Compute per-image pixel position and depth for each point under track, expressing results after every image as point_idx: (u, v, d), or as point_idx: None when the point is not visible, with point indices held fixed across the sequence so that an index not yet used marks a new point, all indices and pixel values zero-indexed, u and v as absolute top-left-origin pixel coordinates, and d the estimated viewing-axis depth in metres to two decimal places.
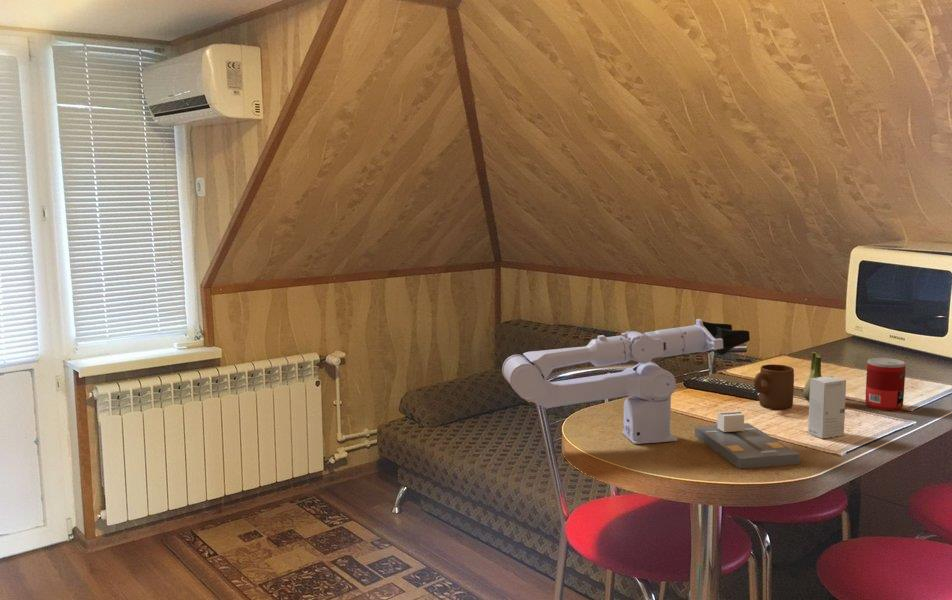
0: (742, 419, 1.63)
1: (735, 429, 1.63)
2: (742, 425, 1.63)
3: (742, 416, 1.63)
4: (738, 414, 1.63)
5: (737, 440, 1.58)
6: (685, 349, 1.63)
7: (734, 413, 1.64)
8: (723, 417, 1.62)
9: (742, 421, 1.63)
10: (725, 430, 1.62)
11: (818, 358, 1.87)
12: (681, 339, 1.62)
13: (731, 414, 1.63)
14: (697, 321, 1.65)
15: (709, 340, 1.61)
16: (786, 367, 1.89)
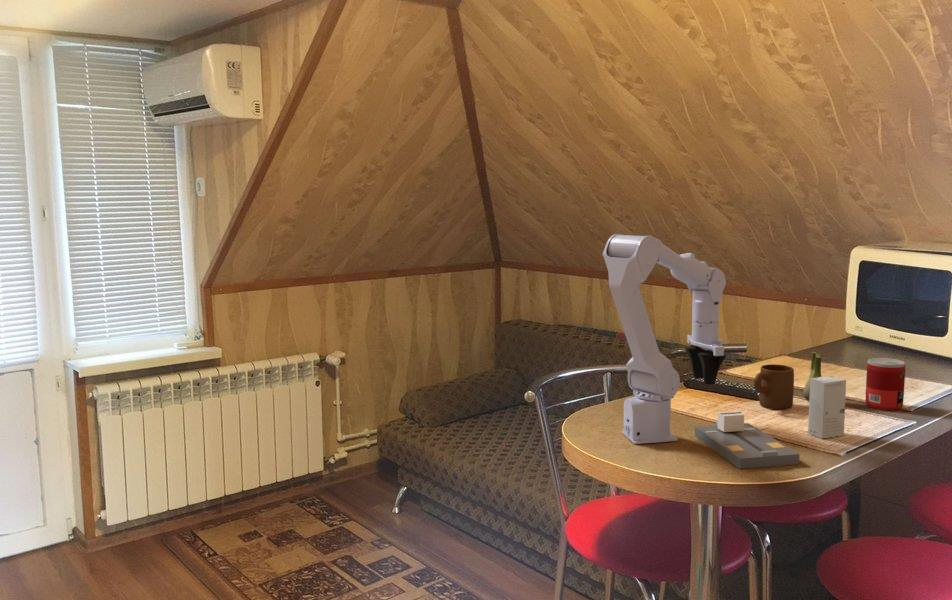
0: (742, 419, 1.63)
1: (735, 429, 1.63)
2: (742, 425, 1.63)
3: (742, 416, 1.63)
4: (738, 414, 1.63)
5: (737, 440, 1.58)
6: (704, 324, 1.71)
7: (734, 413, 1.64)
8: (723, 417, 1.62)
9: (742, 421, 1.63)
10: (725, 430, 1.62)
11: (818, 358, 1.87)
12: (718, 319, 1.72)
13: (731, 414, 1.63)
14: (720, 339, 1.75)
15: None
16: (786, 367, 1.89)
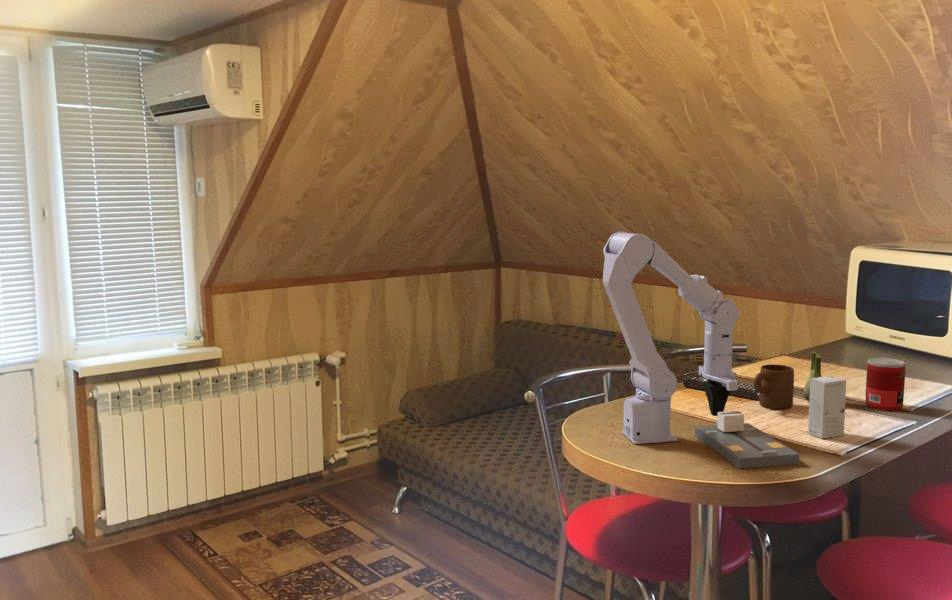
0: (742, 419, 1.63)
1: (735, 429, 1.63)
2: (742, 425, 1.63)
3: (742, 416, 1.63)
4: (738, 414, 1.63)
5: (737, 440, 1.58)
6: (717, 357, 1.66)
7: (734, 413, 1.64)
8: (723, 417, 1.62)
9: (742, 421, 1.63)
10: (725, 430, 1.62)
11: (818, 358, 1.87)
12: (729, 353, 1.66)
13: (731, 414, 1.63)
14: (733, 372, 1.70)
15: (729, 379, 1.65)
16: (786, 367, 1.89)
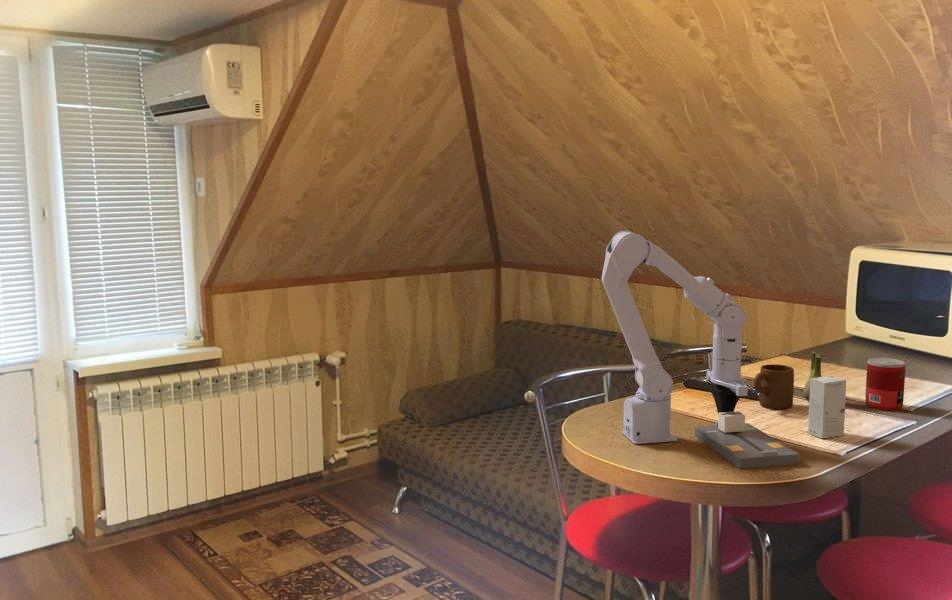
0: (743, 419, 1.62)
1: (736, 430, 1.62)
2: (743, 425, 1.63)
3: (743, 416, 1.62)
4: (739, 414, 1.63)
5: (737, 440, 1.58)
6: (726, 361, 1.62)
7: (735, 414, 1.63)
8: (724, 417, 1.62)
9: (743, 422, 1.62)
10: (726, 431, 1.62)
11: (818, 358, 1.87)
12: (735, 357, 1.62)
13: (732, 414, 1.63)
14: (742, 377, 1.66)
15: (739, 384, 1.61)
16: (786, 367, 1.89)
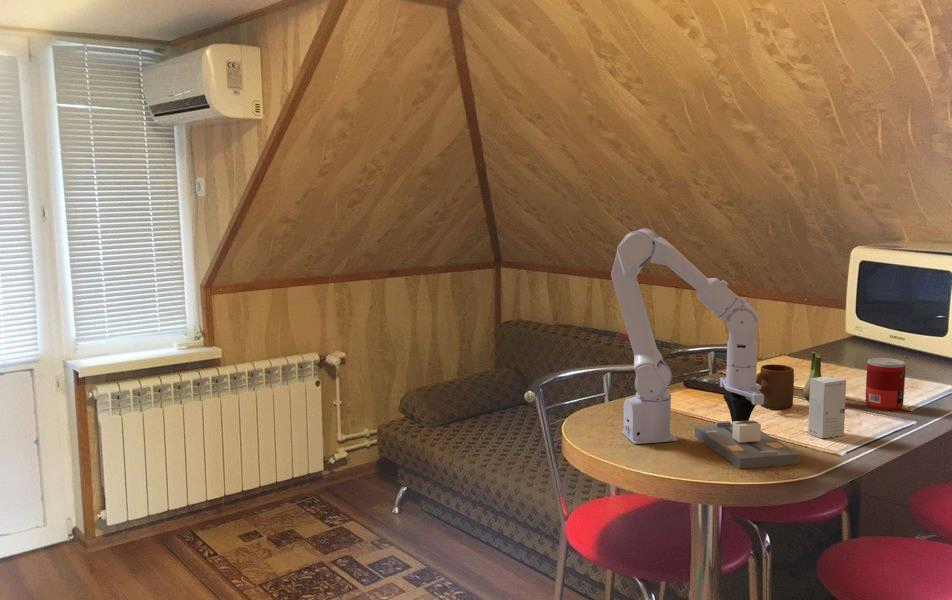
0: (758, 429, 1.56)
1: (751, 439, 1.56)
2: (758, 435, 1.56)
3: (758, 426, 1.56)
4: (754, 424, 1.56)
5: None
6: (741, 368, 1.56)
7: (750, 423, 1.57)
8: (739, 427, 1.56)
9: (758, 431, 1.56)
10: (741, 440, 1.56)
11: (818, 358, 1.87)
12: (745, 365, 1.55)
13: (747, 424, 1.56)
14: (757, 384, 1.60)
15: (754, 392, 1.54)
16: (786, 367, 1.89)
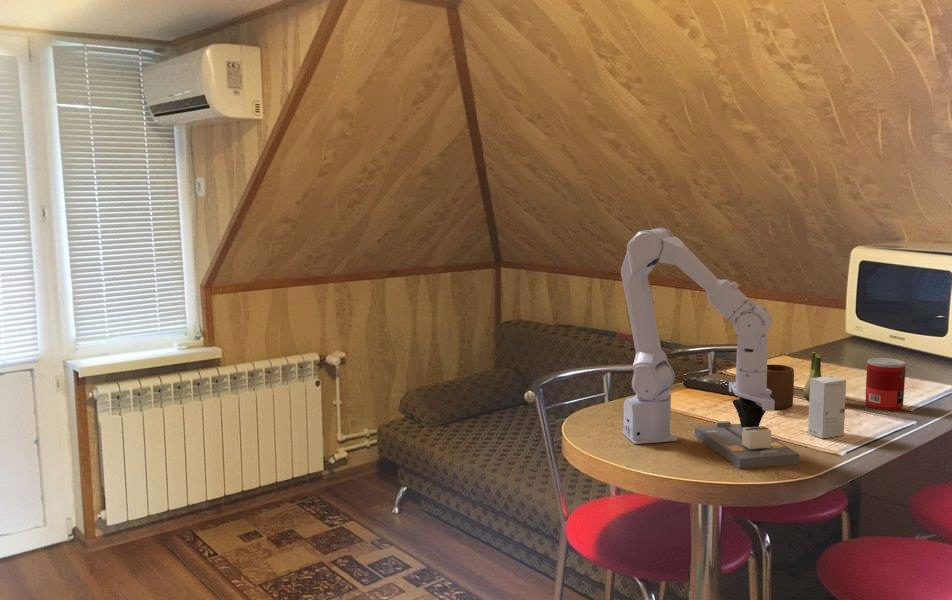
0: (769, 435, 1.52)
1: (761, 446, 1.52)
2: (769, 442, 1.52)
3: (769, 432, 1.52)
4: (765, 430, 1.52)
5: (737, 440, 1.58)
6: (751, 373, 1.52)
7: (760, 429, 1.53)
8: (749, 433, 1.52)
9: (769, 437, 1.52)
10: (751, 447, 1.52)
11: (818, 358, 1.87)
12: (753, 369, 1.51)
13: (757, 430, 1.52)
14: (767, 389, 1.56)
15: (765, 398, 1.50)
16: (786, 367, 1.89)
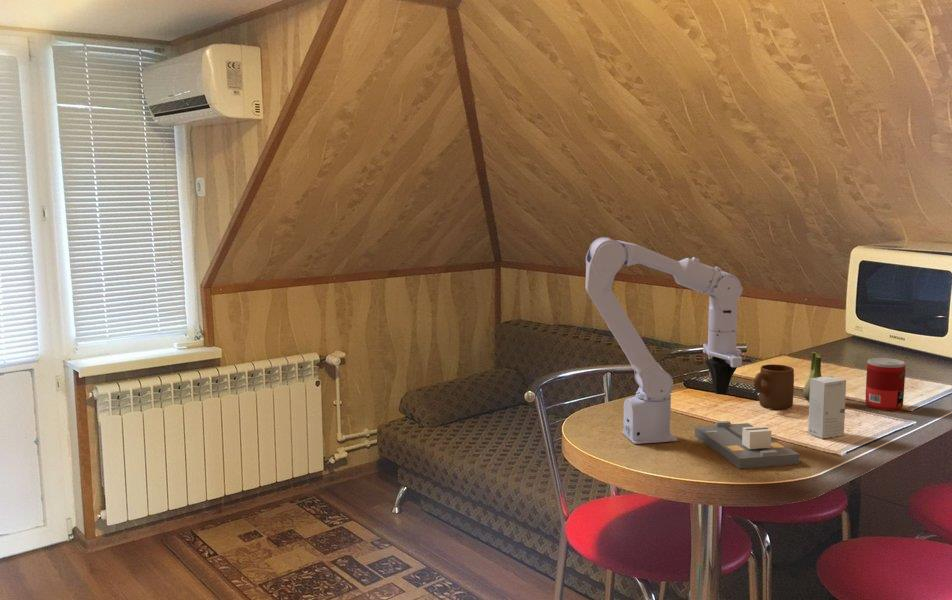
0: (769, 435, 1.52)
1: (761, 446, 1.52)
2: (769, 442, 1.52)
3: (769, 432, 1.52)
4: (765, 430, 1.52)
5: (737, 440, 1.58)
6: (721, 333, 1.61)
7: (760, 429, 1.53)
8: (749, 433, 1.52)
9: (769, 437, 1.52)
10: (751, 447, 1.52)
11: (818, 358, 1.87)
12: (731, 329, 1.61)
13: (757, 430, 1.52)
14: (737, 349, 1.65)
15: (734, 356, 1.60)
16: (786, 367, 1.89)
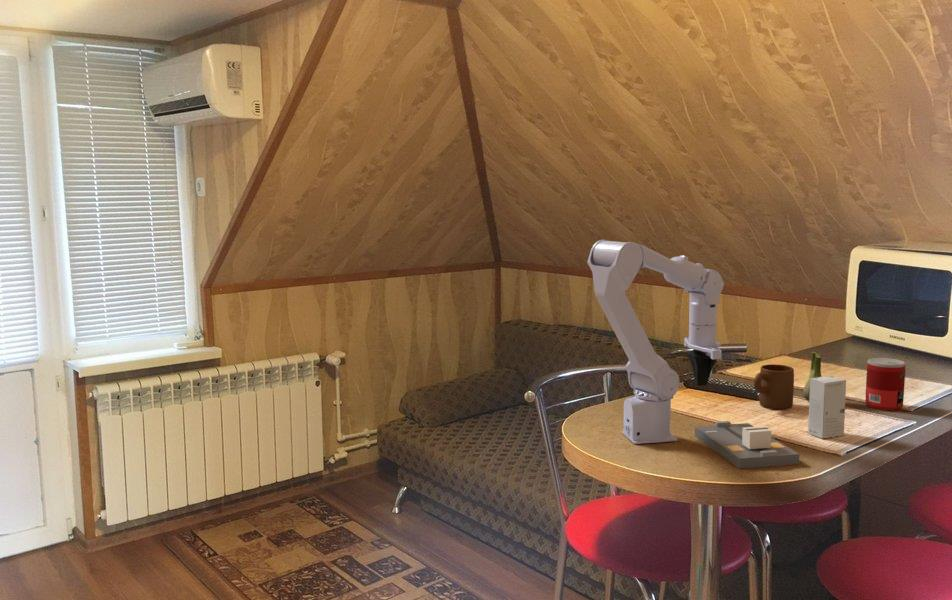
0: (769, 435, 1.52)
1: (761, 446, 1.52)
2: (769, 442, 1.52)
3: (769, 432, 1.52)
4: (765, 430, 1.52)
5: (737, 440, 1.58)
6: (701, 327, 1.68)
7: (760, 429, 1.53)
8: (749, 433, 1.52)
9: (769, 437, 1.52)
10: (751, 447, 1.52)
11: (818, 358, 1.87)
12: (715, 322, 1.69)
13: (757, 430, 1.52)
14: (717, 342, 1.72)
15: (713, 348, 1.67)
16: (786, 367, 1.89)
